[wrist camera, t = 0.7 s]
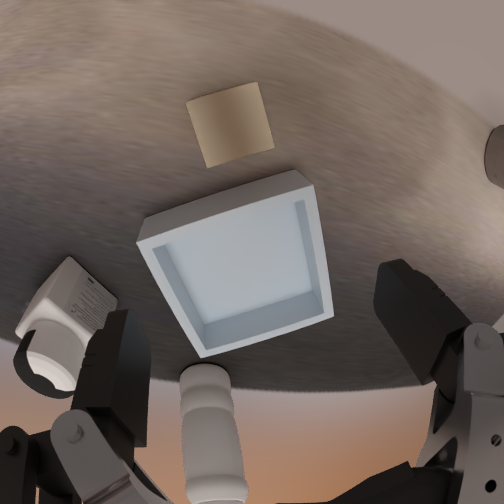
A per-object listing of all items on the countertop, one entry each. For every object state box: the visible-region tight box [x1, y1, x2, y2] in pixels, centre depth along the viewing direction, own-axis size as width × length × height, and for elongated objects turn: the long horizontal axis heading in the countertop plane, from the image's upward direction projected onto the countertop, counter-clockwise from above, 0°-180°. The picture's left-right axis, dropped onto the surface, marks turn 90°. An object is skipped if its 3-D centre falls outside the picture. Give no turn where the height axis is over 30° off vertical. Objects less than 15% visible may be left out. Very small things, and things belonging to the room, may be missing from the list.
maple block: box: [186, 82, 275, 168], centre depth 22 cm, size 5×5×6 cm
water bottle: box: [180, 364, 248, 504], centre depth 30 cm, size 7×7×25 cm
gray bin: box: [136, 169, 334, 358], centre depth 30 cm, size 15×15×5 cm
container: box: [13, 256, 117, 399], centre depth 25 cm, size 8×8×13 cm
